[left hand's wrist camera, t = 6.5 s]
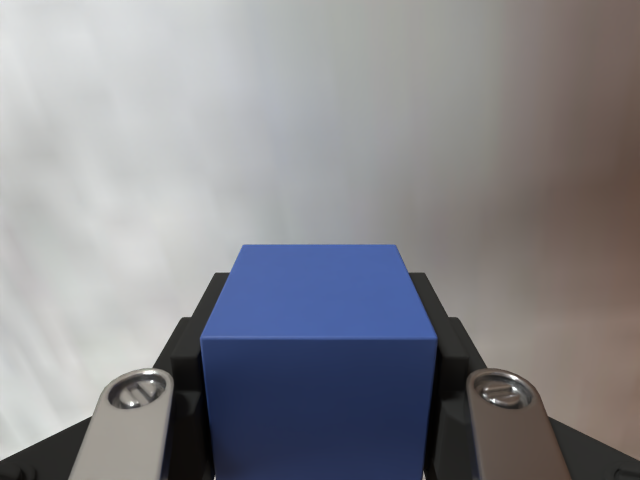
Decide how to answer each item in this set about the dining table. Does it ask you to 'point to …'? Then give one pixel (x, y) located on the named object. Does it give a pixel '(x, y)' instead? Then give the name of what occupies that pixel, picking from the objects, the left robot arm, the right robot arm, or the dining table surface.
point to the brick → (319, 366)
